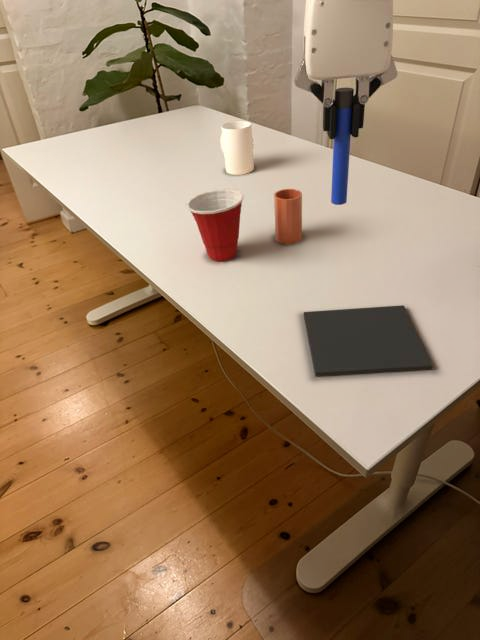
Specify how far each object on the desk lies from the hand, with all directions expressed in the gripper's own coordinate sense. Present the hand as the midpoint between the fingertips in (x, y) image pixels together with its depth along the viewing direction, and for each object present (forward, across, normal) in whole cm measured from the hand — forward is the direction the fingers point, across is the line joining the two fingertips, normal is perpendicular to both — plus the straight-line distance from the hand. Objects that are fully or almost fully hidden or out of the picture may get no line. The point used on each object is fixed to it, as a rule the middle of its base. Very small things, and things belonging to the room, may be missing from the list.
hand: (342, 134), depth 61 cm
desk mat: (+27, -3, +11) cm, 29 cm away
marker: (+10, 0, 0) cm, 10 cm away
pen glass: (+27, +6, -23) cm, 36 cm away
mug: (+27, +18, -67) cm, 74 cm away
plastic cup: (+27, +20, -18) cm, 38 cm away
